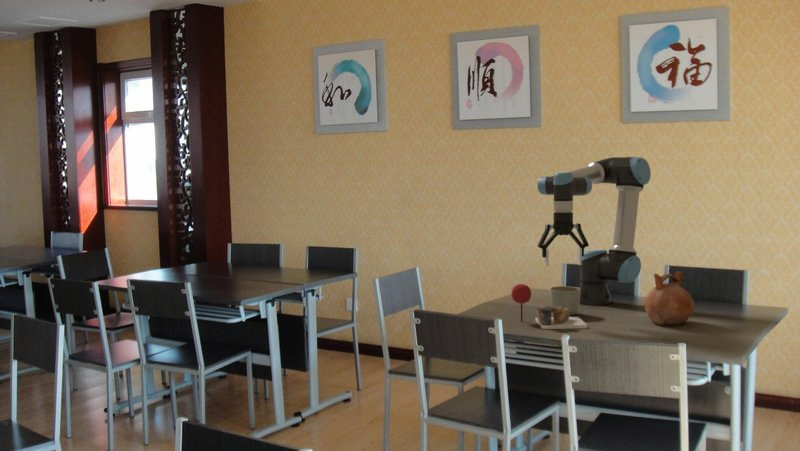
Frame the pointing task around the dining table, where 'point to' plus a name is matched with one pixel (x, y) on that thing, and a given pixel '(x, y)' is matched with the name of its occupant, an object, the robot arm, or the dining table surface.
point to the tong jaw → (557, 313)
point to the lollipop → (521, 294)
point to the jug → (669, 301)
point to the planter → (566, 298)
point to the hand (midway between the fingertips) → (563, 265)
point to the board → (564, 324)
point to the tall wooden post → (544, 316)
